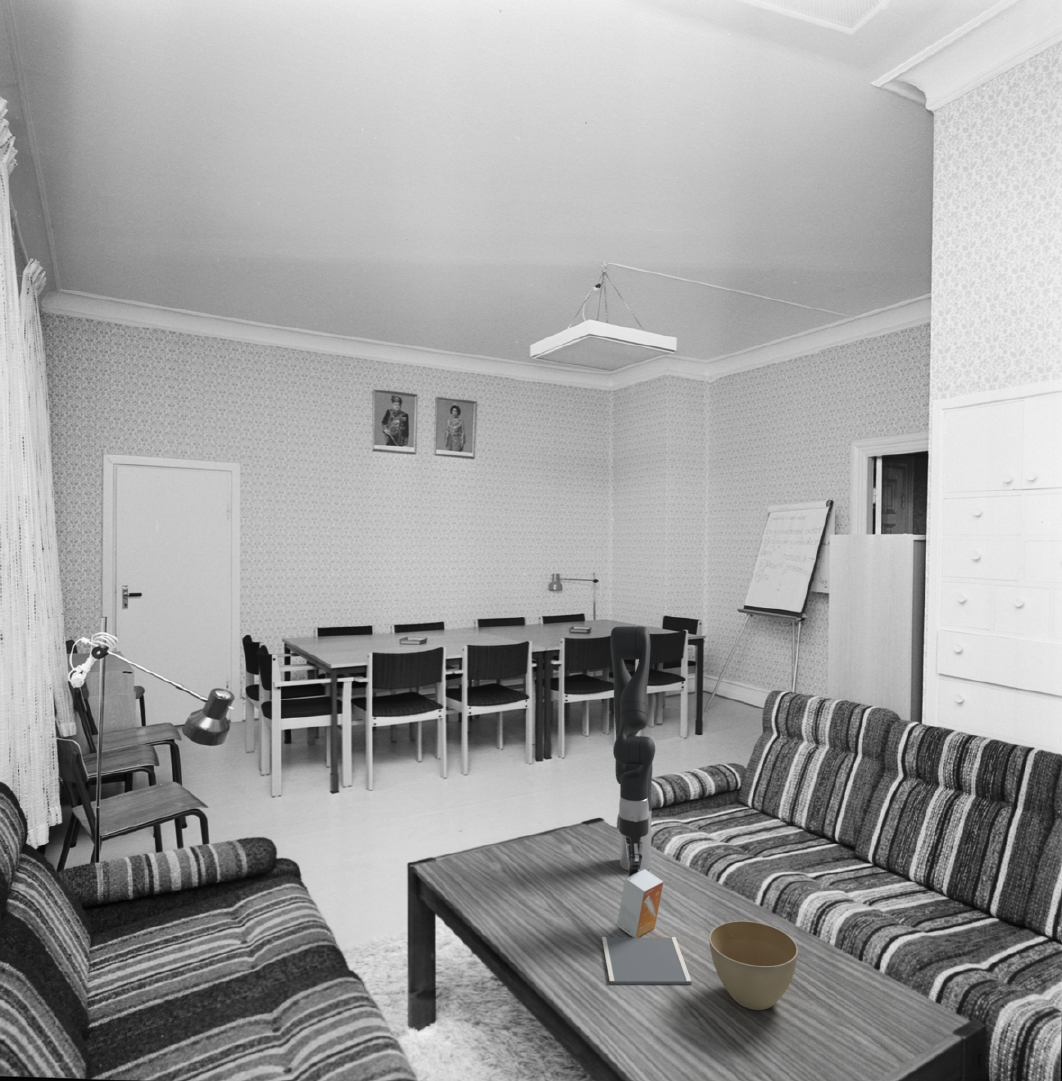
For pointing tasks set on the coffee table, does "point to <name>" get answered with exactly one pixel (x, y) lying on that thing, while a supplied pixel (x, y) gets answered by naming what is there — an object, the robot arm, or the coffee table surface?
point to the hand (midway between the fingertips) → (633, 881)
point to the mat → (644, 961)
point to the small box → (640, 903)
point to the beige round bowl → (753, 962)
